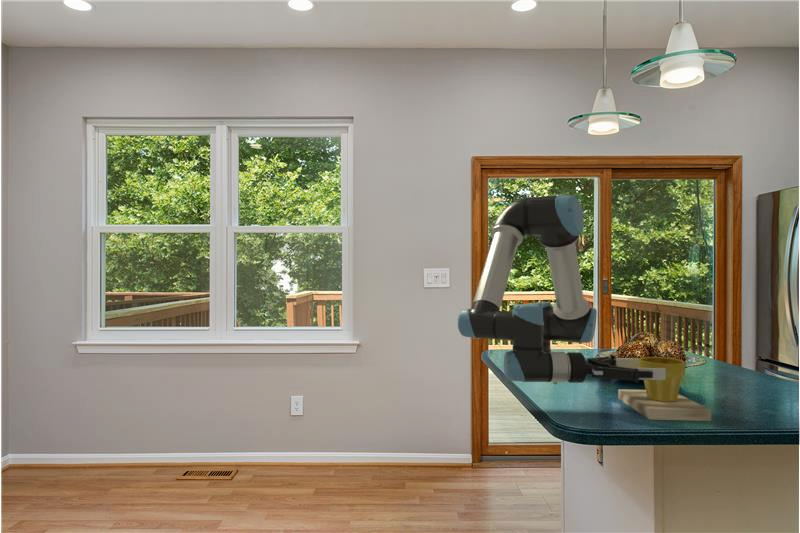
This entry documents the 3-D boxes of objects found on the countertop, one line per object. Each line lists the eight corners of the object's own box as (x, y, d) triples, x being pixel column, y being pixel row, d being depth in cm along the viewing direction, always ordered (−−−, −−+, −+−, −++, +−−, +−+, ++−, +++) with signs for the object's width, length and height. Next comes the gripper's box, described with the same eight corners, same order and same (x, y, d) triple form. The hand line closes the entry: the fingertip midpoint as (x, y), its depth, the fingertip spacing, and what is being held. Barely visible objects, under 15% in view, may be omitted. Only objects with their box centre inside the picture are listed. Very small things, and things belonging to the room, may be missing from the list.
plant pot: (637, 400, 131) (637, 361, 131) (640, 392, 140) (640, 355, 140) (684, 406, 126) (685, 365, 126) (685, 397, 135) (685, 358, 135)
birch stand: (618, 398, 143) (618, 389, 143) (671, 399, 142) (671, 390, 142) (649, 419, 123) (649, 408, 123) (711, 420, 122) (711, 410, 122)
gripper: (554, 372, 146) (632, 373, 145) (581, 393, 121) (676, 395, 120) (554, 345, 146) (632, 346, 145) (581, 360, 121) (676, 362, 120)
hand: (652, 368), depth 133 cm, fingers open, 13 cm apart
